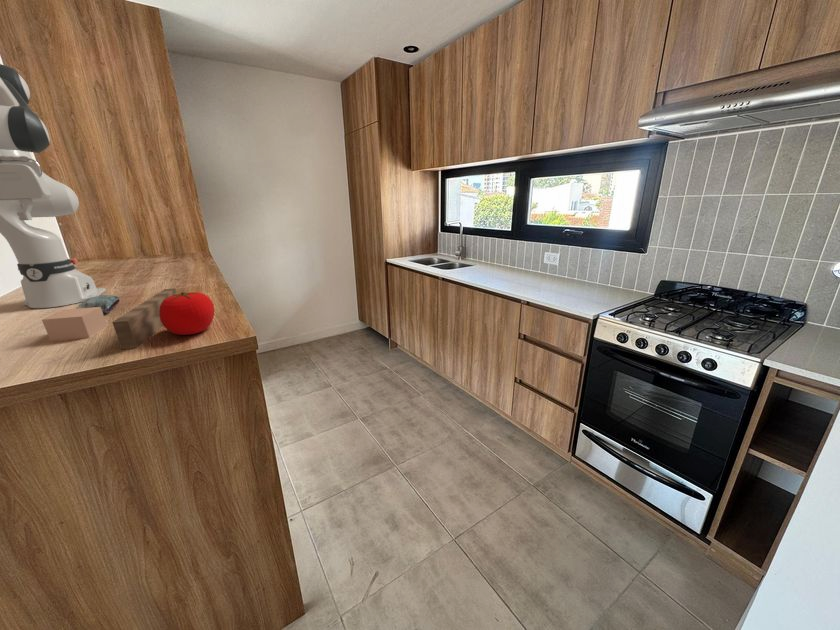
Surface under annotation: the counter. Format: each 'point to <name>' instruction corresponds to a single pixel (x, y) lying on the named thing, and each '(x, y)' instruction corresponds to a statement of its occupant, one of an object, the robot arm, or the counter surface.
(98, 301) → the packaged food
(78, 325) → the terracotta block
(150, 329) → the walnut board
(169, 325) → the tomato
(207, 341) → the counter surface
